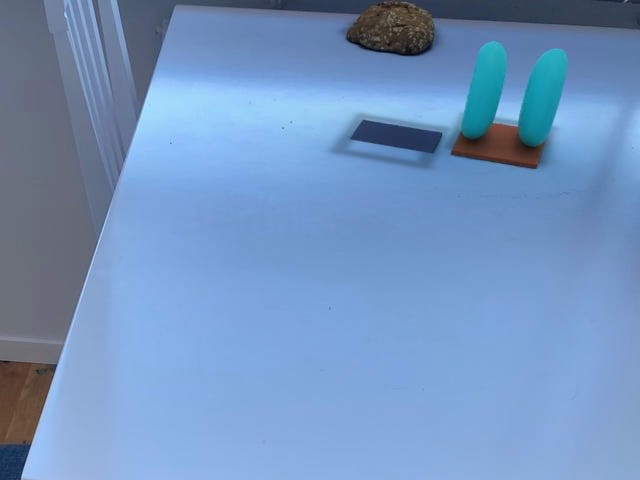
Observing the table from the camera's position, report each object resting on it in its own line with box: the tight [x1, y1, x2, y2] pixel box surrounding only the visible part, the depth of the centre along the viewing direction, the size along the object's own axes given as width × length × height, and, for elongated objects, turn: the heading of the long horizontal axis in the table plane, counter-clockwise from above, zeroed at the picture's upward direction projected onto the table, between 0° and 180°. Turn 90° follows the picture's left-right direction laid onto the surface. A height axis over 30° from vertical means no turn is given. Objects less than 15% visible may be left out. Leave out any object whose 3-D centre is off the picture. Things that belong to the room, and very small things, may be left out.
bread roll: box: [345, 0, 436, 55], centre depth 138 cm, size 13×12×5 cm
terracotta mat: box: [450, 122, 547, 170], centre depth 114 cm, size 10×11×1 cm
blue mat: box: [349, 119, 443, 154], centre depth 113 cm, size 10×12×1 cm
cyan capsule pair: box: [460, 41, 569, 147], centre depth 110 cm, size 10×10×10 cm
